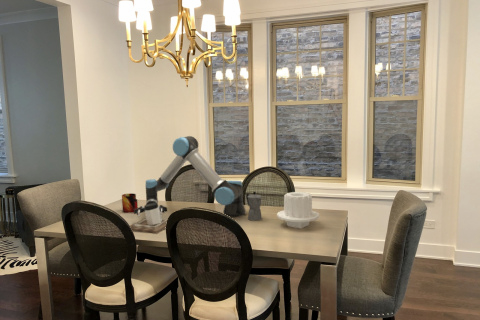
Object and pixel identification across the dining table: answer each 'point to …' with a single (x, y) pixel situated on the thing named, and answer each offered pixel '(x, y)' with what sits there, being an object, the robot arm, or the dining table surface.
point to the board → (148, 226)
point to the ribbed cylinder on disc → (297, 209)
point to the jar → (153, 214)
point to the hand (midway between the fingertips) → (150, 213)
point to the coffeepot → (254, 206)
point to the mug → (129, 203)
